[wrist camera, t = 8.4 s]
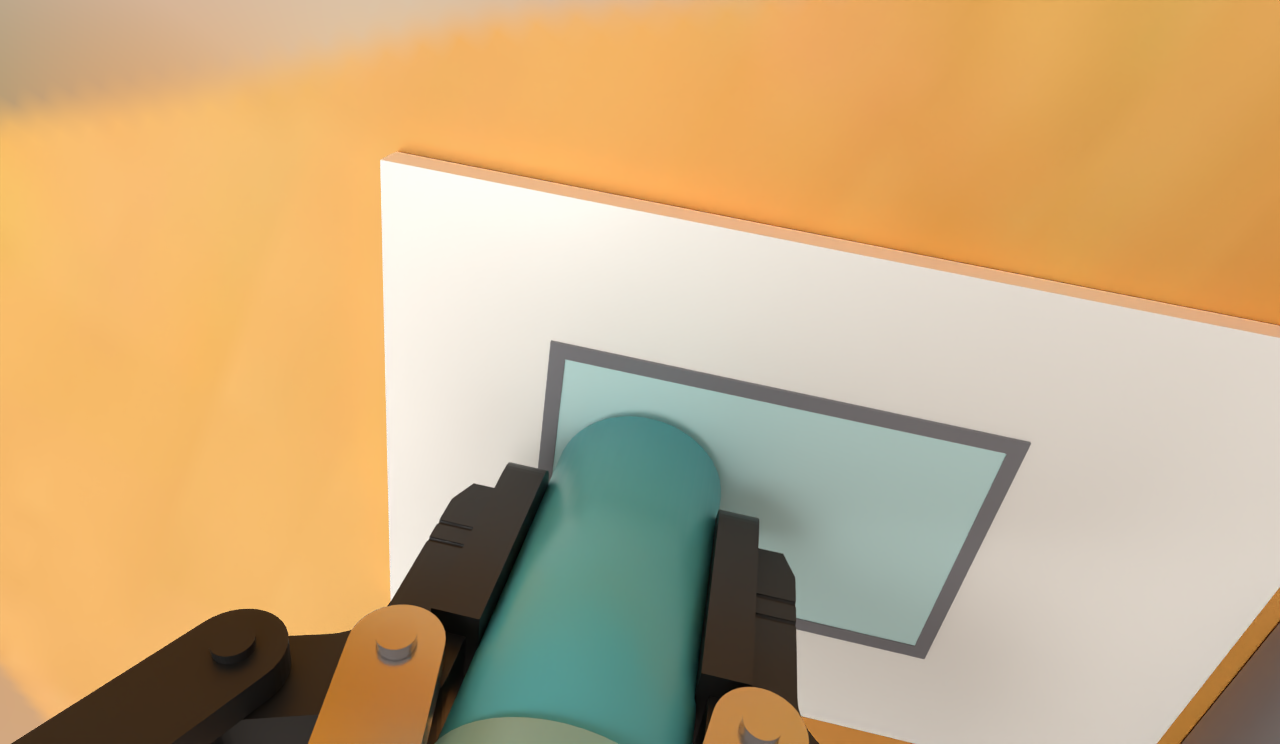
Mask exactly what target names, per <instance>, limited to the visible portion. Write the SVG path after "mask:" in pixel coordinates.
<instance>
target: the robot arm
mask: <svg viewBox="0 0 1280 744" xmlns="http://www.w3.org/2000/svg"><path fill="white" fill-rule="evenodd" d="M548 484H549V471H547V470H543V469H538V468H534V467H530V466H525V465H521V464H516V463H512V462H509V463H508V464H507V465H506V467H505V469H504V470H503V472H502V474H501V476H500V478H499V480H498V482H497V484H496V486H495V487H494V488H493V487H488V486H484V485H479V484H475V483H473V484H472V485H470V486H469V487H468V488H466V489H465V490H463V491H462V492H461V493H459V494H458V495H456V496H455V497H454V498H452V499H451V501H450V503H449V504H448V506H447V508H446V509H445V511H444V513H443V514H442V516H441V518H440V519H439V523H438V524H436V526H435V528H434V529H433V531H432V533H431V535H430V536H429V540H428V541H426V543H425V545H424V546H423V548H422V550H421V551H420V553H419V555H418V556H417V558H416V560H415V561H414V563H413V565H412V567H411V568H410V570H409V572H408V573H407V575H406V577H405V578H404V580H403V582H402V583H401V585H400V587H399V588H398V590H397V592H396V593H395V595H394V597H393V599H392V600H391V602H390V603H389V605H388V606H387V607H383V608H380V609H378V610H375V611H373V612H371V613H370V614H368V615H366V616H365V617H364V618H362V619H361V620H360V621H359V622H358V623H357V624H356V625H355V626H354V628H353V629H352V630H350V631H346V632H341V633H335V634H322V635H300V636H288V632H287V629H286V627H285V625H284V623H283V622H282V621H281V620H280V619H279V618H278V617H276V616H275V615H273V614H271V613H269V612H266V611H262V610H258V609H239V610H233V611H229V612H225V613H222V614H219V615H217V616H215V617H212V618H210V619H209V620H207V621H205V622H203V623H202V624H200V625H198V626H197V627H195V628H194V629H192V630H190V631H189V632H187V633H186V634H184V635H183V636H181V637H179V638H178V639H176V640H175V641H173V642H171V643H170V644H168V645H167V646H165V647H164V648H162V649H160V650H159V651H157V652H156V653H154V654H152V655H151V656H149V657H148V658H146V659H145V660H143V661H141V662H140V663H138V664H137V665H135V666H133V667H132V668H130V669H129V670H127V671H126V672H124V673H122V674H121V675H119V676H118V677H116V678H114V679H113V680H111V681H110V682H108V683H107V684H105V685H103V686H102V687H100V688H99V689H97V690H95V691H94V692H92V693H91V694H89V695H88V696H86V697H84V698H83V699H81V700H80V701H78V702H76V703H75V704H73V705H72V706H70V707H69V708H67V709H65V710H64V711H62V712H61V713H59V714H57V715H56V716H54V717H53V718H51V719H50V720H48V721H46V722H45V723H43V724H42V725H40V726H38V727H37V728H35V729H34V730H32V731H31V732H29V733H27V734H26V735H24V736H23V737H21V738H20V739H18V740H16V741H15V742H13V743H12V744H435V743H436V742H437V740H438V737H439V735H440V733H441V730H442V728H443V726H444V724H445V721H446V719H447V717H448V714H449V712H450V710H451V707H452V705H453V703H454V700H455V698H456V696H457V694H458V691H459V689H460V687H461V684H462V682H463V680H464V677H465V675H466V673H467V671H468V668H469V666H470V664H471V661H472V659H473V657H474V654H475V652H476V650H477V648H478V646H479V644H480V642H481V639H482V637H483V635H484V632H485V630H486V628H487V625H488V623H489V621H490V618H491V616H492V614H493V612H494V609H495V607H496V605H497V602H498V600H499V598H500V595H501V593H502V591H503V588H504V586H505V584H506V582H507V579H508V577H509V575H510V572H511V570H512V568H513V565H514V563H515V561H516V558H517V556H518V554H519V552H520V549H521V547H522V545H523V542H524V540H525V538H526V535H527V533H528V531H529V528H530V526H531V524H532V521H533V519H534V517H535V515H536V512H537V510H538V508H539V505H540V503H541V501H542V498H543V496H544V494H545V491H546V489H547V487H548ZM758 545H759V518H756V517H751V516H747V515H742V514H738V513H733V512H729V511H724V510H720V509H719V510H718V513H717V516H716V520H715V528H714V537H713V545H712V553H711V562H710V570H709V579H708V587H707V596H706V604H705V612H704V621H703V629H702V638H701V646H700V654H699V663H698V671H697V680H696V688H695V696H694V698H695V703H696V719H695V727H694V736H693V744H819V743H818V742H817V741H816V740H815V739H814V737H813V736H812V735H811V733H810V732H809V731H808V729H807V727H806V725H805V723H804V721H803V719H802V717H801V715H800V711H799V708H798V697H797V640H796V627H795V625H796V607H795V603H796V582H795V576H794V574H793V572H792V570H791V568H790V566H789V564H788V562H787V560H786V558H785V556H784V554H782V553H778V552H773V551H769V550H765V549H760V548H758Z"/></svg>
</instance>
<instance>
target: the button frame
mask: <svg viewBox="0 0 1280 744" xmlns="http://www.w3.org/2000/svg"><path fill="white" fill-rule="evenodd" d="M1182 744H1280V623H1279V624H1278V625H1277V627H1276V628H1275V629H1274V630H1273V632H1272V633H1271V634H1270V635H1269V636H1268V638H1267V639H1266V640H1265V641H1264V643H1263V644H1262V645H1261V646H1260V648H1259V649H1258V650H1257V651H1256V652H1255V654H1254V655H1253V656H1252V657H1251V659H1250V660H1249V661H1248V662H1247V664H1246V665H1245V666H1244V667H1243V668H1242V670H1241V671H1240V672H1239V673H1238V675H1237V676H1236V677H1235V678H1234V680H1233V681H1232V682H1231V683H1230V684H1229V686H1228V687H1227V688H1226V689H1225V691H1224V692H1223V693H1222V694H1221V696H1220V697H1219V698H1218V699H1217V700H1216V702H1215V703H1214V704H1213V705H1212V707H1211V708H1210V709H1209V710H1208V712H1207V713H1206V714H1205V715H1204V716H1203V718H1202V719H1201V720H1200V721H1199V723H1198V724H1197V725H1196V726H1195V728H1194V729H1193V730H1192V731H1191V732H1190V734H1189V735H1188V736H1187V737H1186V739H1185V740H1184V741H1183V742H1182Z"/></svg>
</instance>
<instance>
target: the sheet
mask: <svg viewBox="0 0 1280 744" xmlns="http://www.w3.org/2000/svg"><path fill="white" fill-rule="evenodd" d="M380 167H381V209H382V251H383V294H384V336H385V378H386V421H387V463H388V505H389V548H390V590H391V600H392V599H393V597H394V595H395V593H396V592H397V590H398V588H399V587H400V585H401V583H402V582H403V580H404V578H405V577H406V575H407V573H408V572H409V570H410V568H411V567H412V565H413V563H414V561H415V560H416V558H417V556H418V555H419V553H420V551H421V550H422V548H423V546H424V545H425V543H426V541H428V540H429V536H430V535H431V533H432V531H433V529H434V528H435V526H436V524H438V523H439V519H440V518H441V516H442V514H443V513H444V511H445V509H446V508H447V506H448V504H449V503H450V501H451V499H452V498H454V497H455V496H456V495H458V494H459V493H461V492H462V491H463V490H465V489H466V488H468V487H469V486H470V485H472V484H473V483H475V484H479V485H484V486H488V487H493V488H494V487H495V486H496V484H497V482H498V480H499V478H500V476H501V474H502V472H503V470H504V469H505V467H506V465H507V464H508V463H509V462H512V463H516V464H521V465H525V466H530V467H534V468H538V469H543V470H547V471H549V482H550V479H551V477H552V475H553V472H554V470H555V468H556V465H557V463H558V461H559V459H560V456H561V454H562V452H563V450H564V448H565V447H566V445H567V444H568V442H569V441H570V440H571V439H572V438H573V437H574V436H575V435H576V434H577V433H578V432H580V431H581V430H583V429H584V428H586V427H587V426H589V425H591V424H594V423H596V422H598V421H601V420H605V419H609V418H614V417H624V416H634V417H644V418H650V419H654V420H658V421H661V422H664V423H666V424H669V425H671V426H674V427H675V428H677V429H679V430H681V431H683V432H684V433H686V434H687V435H689V436H690V437H692V438H693V439H694V440H695V441H696V442H697V443H698V444H699V445H700V446H701V447H702V448H703V449H704V450H705V451H706V452H707V454H708V455H709V457H710V458H711V460H712V461H713V463H714V465H715V467H716V469H717V472H718V475H719V479H720V485H721V500H720V508H719V509H720V510H724V511H729V512H733V513H738V514H742V515H747V516H751V517H756V518H759V545H758V548H760V549H765V550H769V551H773V552H778V553H782V554H784V556H785V558H786V560H787V562H788V564H789V566H790V568H791V570H792V572H793V574H794V576H795V582H796V603H795V607H796V625H795V627H796V640H797V697H798V708H799V711H800V715H801V716H803V717H807V718H811V719H816V720H820V721H824V722H828V723H832V724H836V725H840V726H844V727H849V728H853V729H857V730H861V731H865V732H869V733H873V734H877V735H882V736H886V737H890V738H894V739H898V740H902V741H906V742H910V743H915V744H1157V742H1158V741H1159V740H1160V739H1161V737H1162V736H1163V735H1164V734H1165V732H1166V731H1167V730H1168V728H1169V727H1170V726H1171V725H1172V723H1173V722H1174V721H1175V720H1176V718H1177V717H1178V716H1179V715H1180V713H1181V712H1182V711H1183V709H1184V708H1185V707H1186V706H1187V704H1188V703H1189V702H1190V701H1191V699H1192V698H1193V697H1194V695H1195V694H1196V693H1197V692H1198V690H1199V689H1200V688H1201V687H1202V685H1203V684H1204V683H1205V681H1206V680H1207V679H1208V678H1209V676H1210V675H1211V674H1212V673H1213V671H1214V670H1215V669H1216V667H1217V666H1218V665H1219V664H1220V662H1221V661H1222V660H1223V659H1224V657H1225V656H1226V655H1227V653H1228V652H1229V651H1230V650H1231V648H1232V647H1233V646H1234V645H1235V643H1236V642H1237V641H1238V639H1239V638H1240V637H1241V636H1242V634H1243V633H1244V632H1245V631H1246V629H1247V628H1248V627H1249V625H1250V624H1251V623H1252V622H1253V620H1254V619H1255V618H1256V617H1257V615H1258V614H1259V613H1260V611H1261V610H1262V609H1263V608H1264V606H1265V605H1266V604H1267V603H1268V601H1269V600H1270V599H1271V597H1272V596H1273V595H1274V594H1275V592H1276V591H1277V590H1278V589H1279V587H1280V326H1279V325H1274V324H1269V323H1264V322H1259V321H1254V320H1249V319H1244V318H1239V317H1234V316H1229V315H1224V314H1219V313H1213V312H1208V311H1203V310H1198V309H1193V308H1188V307H1183V306H1178V305H1173V304H1168V303H1163V302H1158V301H1153V300H1148V299H1142V298H1137V297H1132V296H1127V295H1122V294H1117V293H1112V292H1107V291H1102V290H1097V289H1092V288H1087V287H1082V286H1077V285H1071V284H1066V283H1061V282H1056V281H1051V280H1046V279H1041V278H1036V277H1031V276H1026V275H1021V274H1016V273H1011V272H1005V271H1000V270H995V269H990V268H985V267H980V266H975V265H970V264H965V263H960V262H955V261H950V260H945V259H940V258H934V257H929V256H924V255H919V254H914V253H909V252H904V251H899V250H894V249H889V248H884V247H879V246H874V245H869V244H863V243H858V242H853V241H848V240H843V239H838V238H833V237H828V236H823V235H818V234H813V233H808V232H803V231H798V230H792V229H787V228H782V227H777V226H772V225H767V224H762V223H757V222H752V221H747V220H742V219H737V218H732V217H726V216H721V215H716V214H711V213H706V212H701V211H696V210H691V209H686V208H681V207H676V206H671V205H666V204H661V203H655V202H650V201H645V200H640V199H635V198H630V197H625V196H620V195H615V194H610V193H605V192H600V191H595V190H590V189H584V188H579V187H574V186H569V185H564V184H559V183H554V182H549V181H544V180H539V179H534V178H529V177H524V176H518V175H513V174H508V173H503V172H498V171H493V170H488V169H483V168H478V167H473V166H468V165H463V164H458V163H453V162H447V161H442V160H437V159H432V158H427V157H422V156H417V155H412V154H407V153H402V152H397V151H396V152H394V153H392V154H390V155H388V156H386V157H385V158H383V159H381V160H380Z"/></svg>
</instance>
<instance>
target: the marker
mask: <svg viewBox="0 0 1280 744" xmlns="http://www.w3.org/2000/svg"><path fill="white" fill-rule="evenodd" d="M720 500H721V485H720V479H719V475H718V472H717V469H716V467H715V465H714V463H713V461H712V460H711V458H710V457H709V455H708V454H707V452H706V451H705V450H704V449H703V448H702V447H701V446H700V445H699V444H698V443H697V442H696V441H695V440H694V439H693V438H692V437H690V436H689V435H687V434H686V433H684V432H683V431H681V430H679V429H677V428H675V427H674V426H671V425H669V424H666V423H664V422H661V421H658V420H654V419H650V418H644V417H634V416H624V417H614V418H609V419H605V420H601V421H598V422H596V423H594V424H591V425H589V426H587V427H586V428H584V429H583V430H581V431H580V432H578V433H577V434H576V435H575V436H574V437H573V438H572V439H571V440H570V441H569V442H568V444H567V445H566V447H565V448H564V450H563V452H562V454H561V456H560V459H559V461H558V463H557V465H556V468H555V470H554V472H553V475H552V477H551V479H550V482H549V484H548V487H547V489H546V491H545V494H544V496H543V498H542V501H541V503H540V505H539V508H538V510H537V512H536V515H535V517H534V519H533V521H532V524H531V526H530V528H529V531H528V533H527V535H526V538H525V540H524V542H523V545H522V547H521V549H520V552H519V554H518V556H517V558H516V561H515V563H514V565H513V568H512V570H511V572H510V575H509V577H508V579H507V582H506V584H505V586H504V588H503V591H502V593H501V595H500V598H499V600H498V602H497V605H496V607H495V609H494V612H493V614H492V616H491V618H490V621H489V623H488V625H487V628H486V630H485V632H484V635H483V637H482V639H481V642H480V644H479V646H478V648H477V650H476V652H475V654H474V657H473V659H472V661H471V664H470V666H469V668H468V671H467V673H466V675H465V677H464V680H463V682H462V684H461V687H460V689H459V691H458V694H457V696H456V698H455V700H454V703H453V705H452V707H451V710H450V712H449V714H448V717H447V719H446V721H445V724H444V726H443V728H442V730H441V733H440V735H439V737H438V740H437V742H436V743H435V744H693V736H694V727H695V719H696V703H695V698H694V696H695V688H696V680H697V671H698V663H699V654H700V646H701V638H702V629H703V621H704V612H705V604H706V596H707V587H708V579H709V570H710V562H711V553H712V545H713V537H714V528H715V520H716V516H717V513H718V510H719V508H720Z"/></svg>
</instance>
